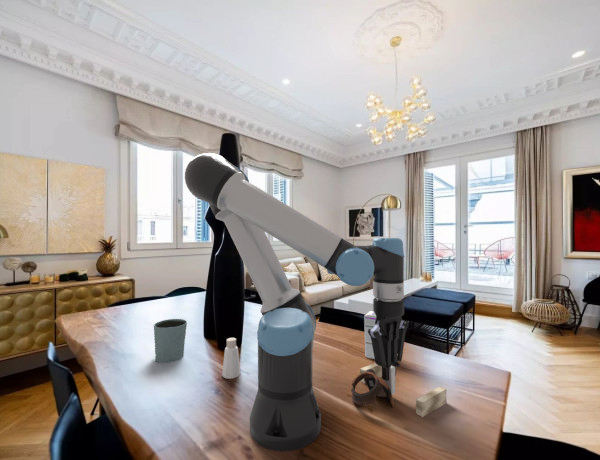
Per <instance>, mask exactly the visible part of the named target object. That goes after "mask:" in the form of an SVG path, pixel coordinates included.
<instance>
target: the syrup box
mask: <svg viewBox="0 0 600 460" xmlns="http://www.w3.org/2000/svg"><path fill="white" fill-rule="evenodd" d="M363 318H364V319H363V320H364V321H363V323H364V356H365V358H368V359H372V360H375V358H374V352H373V347H372V341H371V337H370V335H369V333H368V329H369V328H370V329H373V327H374V326H375V320H376V314H375V313H374V311H373V310H370V311H368V312H367V313H366V314H364V317H363Z"/></svg>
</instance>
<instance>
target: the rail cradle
mask: <svg viewBox="0 0 600 460" xmlns="http://www.w3.org/2000/svg"><path fill="white" fill-rule="evenodd" d="M369 369H372V370H374V372H375V374H376V376H378V377H380V378H382V367H381V366H379V365H377V364H376V363H375V362H373V363H371V364H369V365H366V366H363V367H360V369H359V374H361V373H364V372H366V371H367V370H369ZM360 383H362V384H366V383H365V381H364V378H363V380H361V381H360ZM415 404H416V405H415V406H416V407H415V409H416V410H415V413H416V415H418V416H419V417H421V418H424V417H425V416H427V415H429V414H430V413H432V412H434V411H436V410H437V409H440V408H441V407H442V406H445V405H446V404H447V388H445V387H443V386H442V385H439V386H438V387H437V388H434V389H432V390H430V391H429V392H427V393H425V394H424V395H421V396H420V397H418V398H416V399H415Z"/></svg>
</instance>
